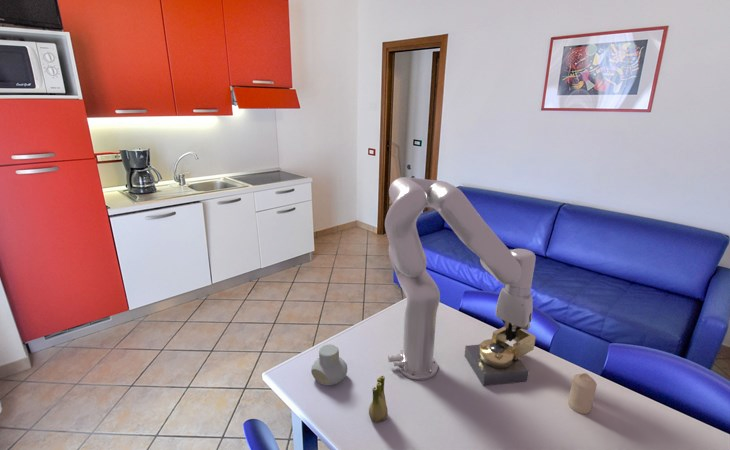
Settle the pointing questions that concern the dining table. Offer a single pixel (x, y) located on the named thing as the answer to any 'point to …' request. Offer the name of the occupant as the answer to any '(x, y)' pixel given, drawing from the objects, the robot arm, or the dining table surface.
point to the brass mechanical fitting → (505, 348)
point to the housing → (495, 369)
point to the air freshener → (329, 366)
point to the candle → (582, 393)
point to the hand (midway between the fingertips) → (510, 338)
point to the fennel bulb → (378, 402)
